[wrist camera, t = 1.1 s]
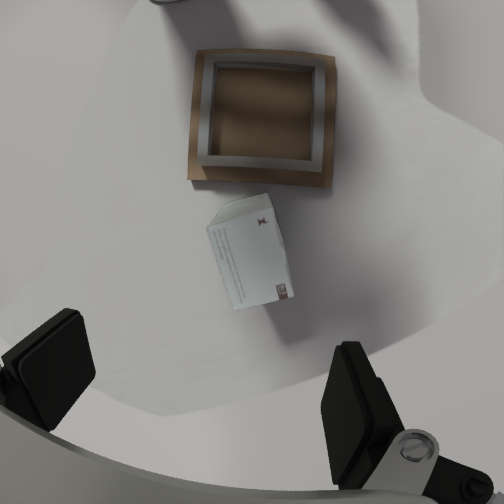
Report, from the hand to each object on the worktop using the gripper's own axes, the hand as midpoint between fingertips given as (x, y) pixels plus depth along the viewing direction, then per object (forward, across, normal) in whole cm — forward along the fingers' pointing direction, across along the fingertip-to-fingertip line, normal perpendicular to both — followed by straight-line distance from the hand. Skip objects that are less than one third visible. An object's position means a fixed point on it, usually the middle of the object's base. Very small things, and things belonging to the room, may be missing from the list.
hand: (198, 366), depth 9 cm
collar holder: (+29, 0, -15) cm, 33 cm away
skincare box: (+30, -1, 0) cm, 30 cm away
